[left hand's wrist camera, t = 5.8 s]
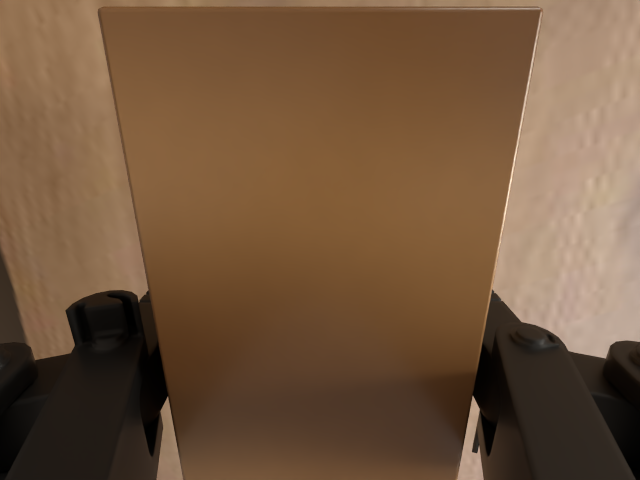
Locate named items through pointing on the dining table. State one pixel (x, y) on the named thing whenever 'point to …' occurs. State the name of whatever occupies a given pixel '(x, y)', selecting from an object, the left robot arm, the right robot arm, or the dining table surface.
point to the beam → (320, 224)
